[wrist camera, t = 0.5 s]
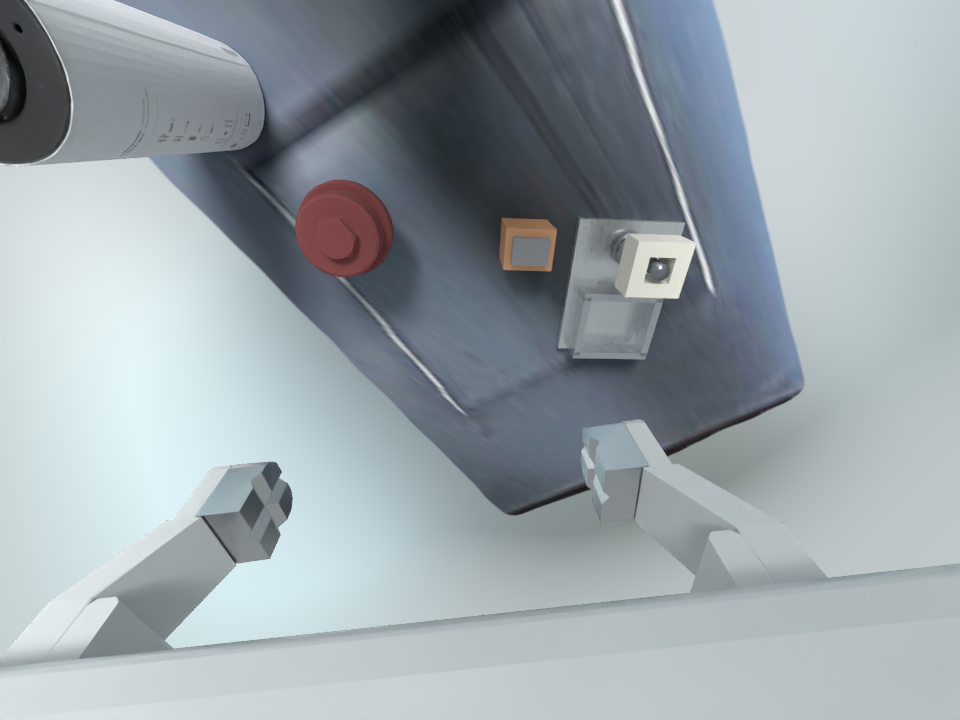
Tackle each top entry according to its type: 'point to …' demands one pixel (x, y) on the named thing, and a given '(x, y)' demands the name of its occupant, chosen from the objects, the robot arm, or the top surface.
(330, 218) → the mechanical component
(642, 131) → the top surface
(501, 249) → the block
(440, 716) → the robot arm
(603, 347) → the chassis
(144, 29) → the speaker
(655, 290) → the square housing
